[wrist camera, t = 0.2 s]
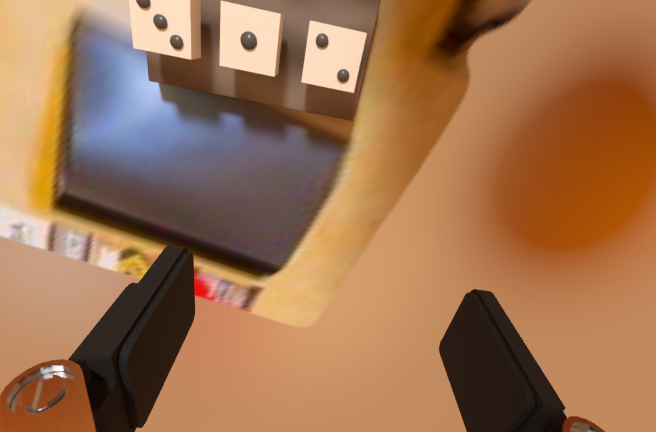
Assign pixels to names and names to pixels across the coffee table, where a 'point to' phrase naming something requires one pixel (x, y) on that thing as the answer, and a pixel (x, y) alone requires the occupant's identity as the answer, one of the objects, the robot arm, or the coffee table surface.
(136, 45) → the three dot tile
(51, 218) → the coffee table surface
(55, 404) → the robot arm
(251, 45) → the single pip block
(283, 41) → the brown board
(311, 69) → the two pip cube
